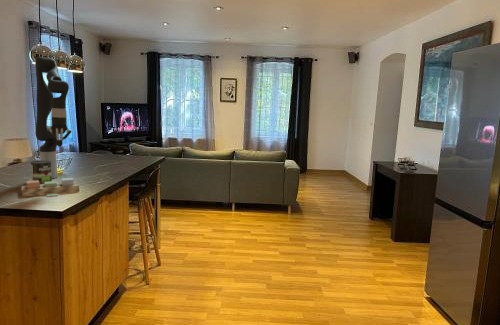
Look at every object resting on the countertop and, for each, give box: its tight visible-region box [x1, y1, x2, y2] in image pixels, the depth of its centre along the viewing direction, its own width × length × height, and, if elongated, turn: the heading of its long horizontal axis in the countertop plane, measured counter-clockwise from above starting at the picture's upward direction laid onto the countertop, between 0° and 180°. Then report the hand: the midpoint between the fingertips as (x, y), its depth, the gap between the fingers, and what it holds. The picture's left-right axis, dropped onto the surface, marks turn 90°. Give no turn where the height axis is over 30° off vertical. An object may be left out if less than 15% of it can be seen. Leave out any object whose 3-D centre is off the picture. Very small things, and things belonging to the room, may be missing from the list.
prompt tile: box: [46, 193, 59, 198], centre depth 195 cm, size 5×5×1 cm
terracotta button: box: [26, 180, 39, 189], centre depth 197 cm, size 6×6×4 cm
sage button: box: [45, 180, 58, 187], centre depth 202 cm, size 6×6×4 cm
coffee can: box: [30, 160, 53, 185], centre depth 215 cm, size 10×10×14 cm
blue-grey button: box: [61, 177, 75, 186], centre depth 206 cm, size 6×6×4 cm
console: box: [21, 181, 80, 198], centre depth 202 cm, size 27×10×4 cm, turn 121°
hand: (59, 146), depth 211 cm, fingers closed
